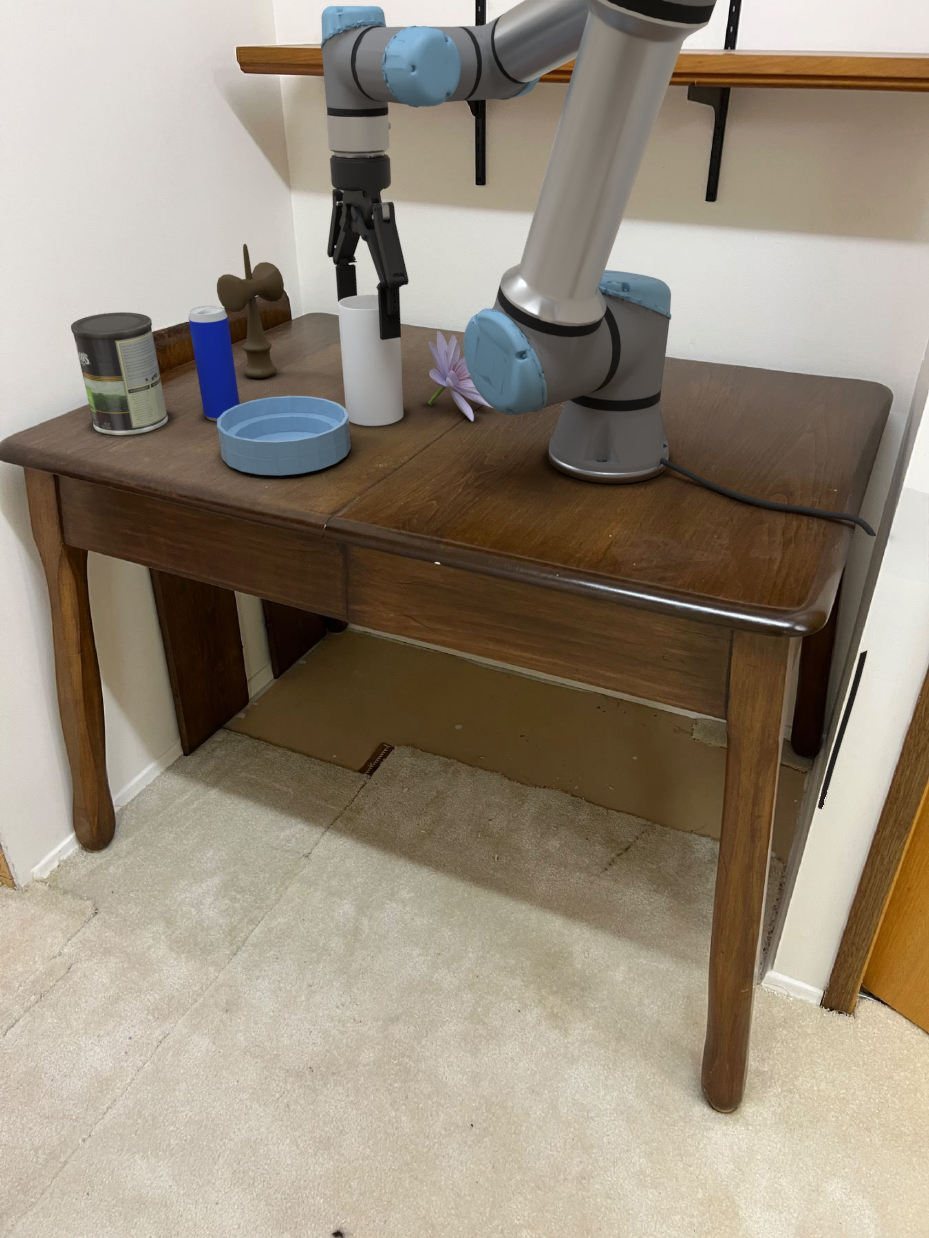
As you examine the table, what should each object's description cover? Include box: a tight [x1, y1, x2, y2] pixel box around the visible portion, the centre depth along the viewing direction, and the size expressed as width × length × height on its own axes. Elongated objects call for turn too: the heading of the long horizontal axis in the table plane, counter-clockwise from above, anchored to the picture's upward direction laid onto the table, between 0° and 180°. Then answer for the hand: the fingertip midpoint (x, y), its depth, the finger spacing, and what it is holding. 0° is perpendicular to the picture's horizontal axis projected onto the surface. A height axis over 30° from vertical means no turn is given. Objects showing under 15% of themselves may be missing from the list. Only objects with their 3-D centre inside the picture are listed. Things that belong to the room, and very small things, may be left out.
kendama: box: [216, 243, 285, 379], centre depth 145 cm, size 6×10×20 cm, turn 149°
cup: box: [337, 294, 404, 427], centre depth 131 cm, size 8×8×16 cm
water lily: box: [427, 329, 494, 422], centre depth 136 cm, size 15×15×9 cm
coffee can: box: [70, 311, 169, 436], centre depth 129 cm, size 10×10×14 cm
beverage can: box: [188, 305, 241, 422], centre depth 131 cm, size 5×5×15 cm
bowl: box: [216, 395, 352, 476], centre depth 122 cm, size 17×17×5 cm
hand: (368, 325), depth 128 cm, fingers open, 13 cm apart
